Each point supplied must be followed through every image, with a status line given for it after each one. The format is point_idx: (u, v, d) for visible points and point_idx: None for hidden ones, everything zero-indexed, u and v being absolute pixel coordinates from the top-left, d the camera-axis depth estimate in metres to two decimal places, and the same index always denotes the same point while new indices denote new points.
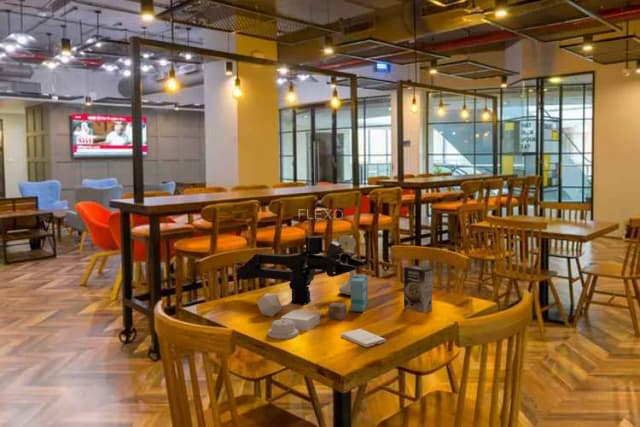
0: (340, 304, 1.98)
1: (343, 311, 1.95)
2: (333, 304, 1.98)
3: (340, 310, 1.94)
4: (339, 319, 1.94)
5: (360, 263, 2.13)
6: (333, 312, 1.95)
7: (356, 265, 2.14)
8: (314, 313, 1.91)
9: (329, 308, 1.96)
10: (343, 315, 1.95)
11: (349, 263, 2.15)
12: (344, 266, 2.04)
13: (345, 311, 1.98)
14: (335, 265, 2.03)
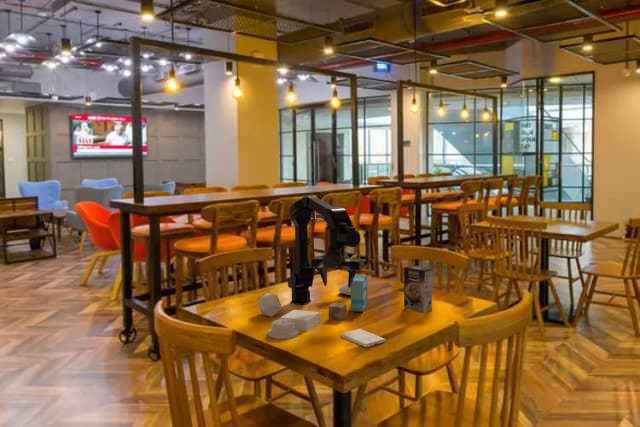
0: (340, 304, 1.98)
1: (343, 311, 1.95)
2: (333, 304, 1.98)
3: (340, 310, 1.94)
4: (339, 319, 1.94)
5: None
6: (333, 312, 1.95)
7: None
8: (314, 313, 1.91)
9: (329, 308, 1.96)
10: (343, 315, 1.95)
11: None
12: None
13: (345, 311, 1.98)
14: None
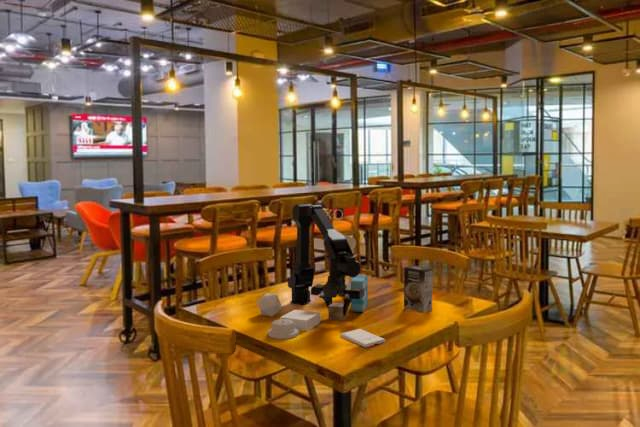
0: (340, 304, 1.98)
1: None
2: (333, 304, 1.98)
3: (340, 309, 1.94)
4: (339, 319, 1.94)
5: None
6: (333, 312, 1.95)
7: None
8: (314, 313, 1.91)
9: (329, 308, 1.96)
10: (342, 314, 1.95)
11: None
12: None
13: None
14: None
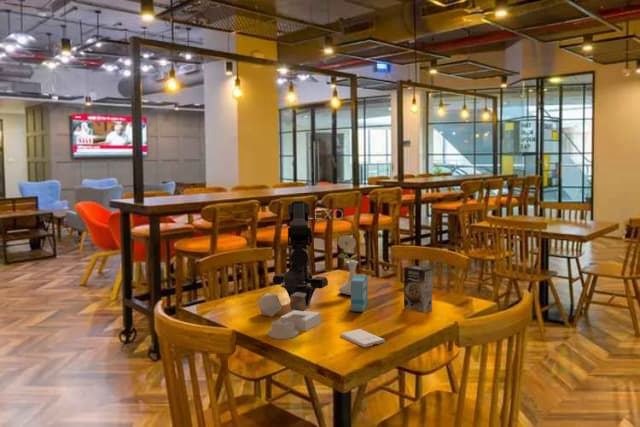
0: (303, 293, 1.90)
1: (305, 301, 1.87)
2: (296, 293, 1.90)
3: (302, 299, 1.86)
4: (301, 309, 1.87)
5: None
6: (295, 302, 1.87)
7: None
8: (314, 313, 1.91)
9: (291, 297, 1.88)
10: (305, 304, 1.87)
11: None
12: None
13: None
14: None
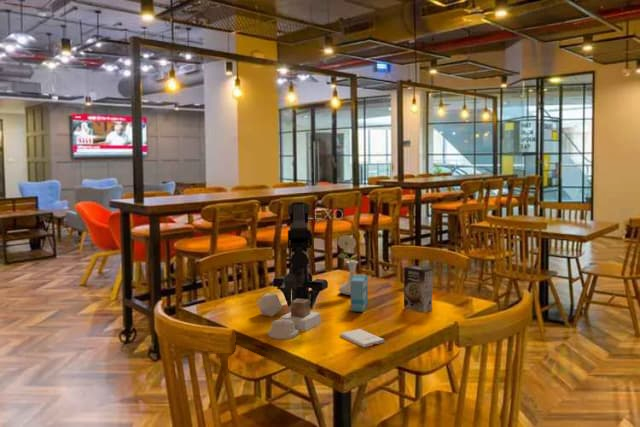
0: (303, 300, 1.90)
1: (305, 307, 1.88)
2: (296, 300, 1.90)
3: (302, 306, 1.86)
4: (302, 315, 1.87)
5: None
6: (295, 308, 1.87)
7: None
8: (314, 313, 1.91)
9: (291, 304, 1.88)
10: (305, 311, 1.88)
11: None
12: None
13: (308, 307, 1.90)
14: None
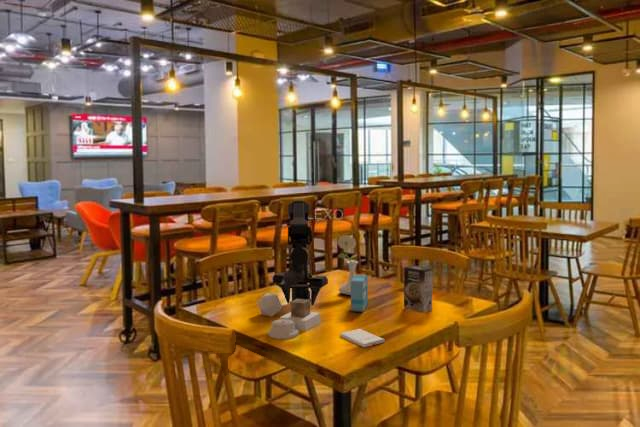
0: (303, 300, 1.90)
1: (306, 307, 1.88)
2: (296, 300, 1.90)
3: (302, 306, 1.86)
4: (302, 315, 1.87)
5: None
6: (296, 308, 1.87)
7: None
8: (314, 314, 1.91)
9: (292, 304, 1.88)
10: (306, 311, 1.88)
11: None
12: None
13: (308, 307, 1.90)
14: None
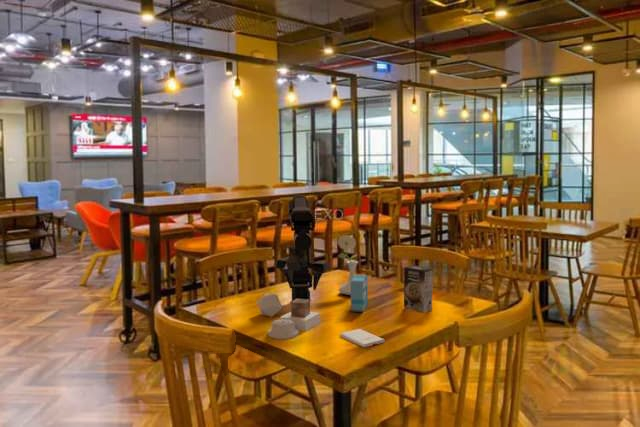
0: (303, 300, 1.90)
1: (306, 307, 1.88)
2: (296, 300, 1.90)
3: (303, 306, 1.86)
4: (302, 315, 1.87)
5: None
6: (296, 308, 1.87)
7: None
8: (314, 313, 1.91)
9: (292, 304, 1.88)
10: (306, 311, 1.88)
11: None
12: None
13: (308, 307, 1.90)
14: None
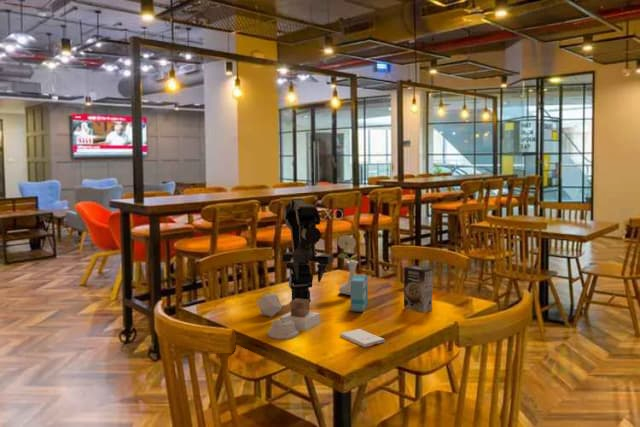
0: (302, 299, 1.90)
1: (305, 307, 1.88)
2: (295, 300, 1.90)
3: (302, 305, 1.87)
4: (302, 315, 1.87)
5: None
6: (295, 308, 1.88)
7: None
8: (314, 313, 1.91)
9: (291, 304, 1.88)
10: (305, 310, 1.88)
11: None
12: None
13: (308, 307, 1.90)
14: None
